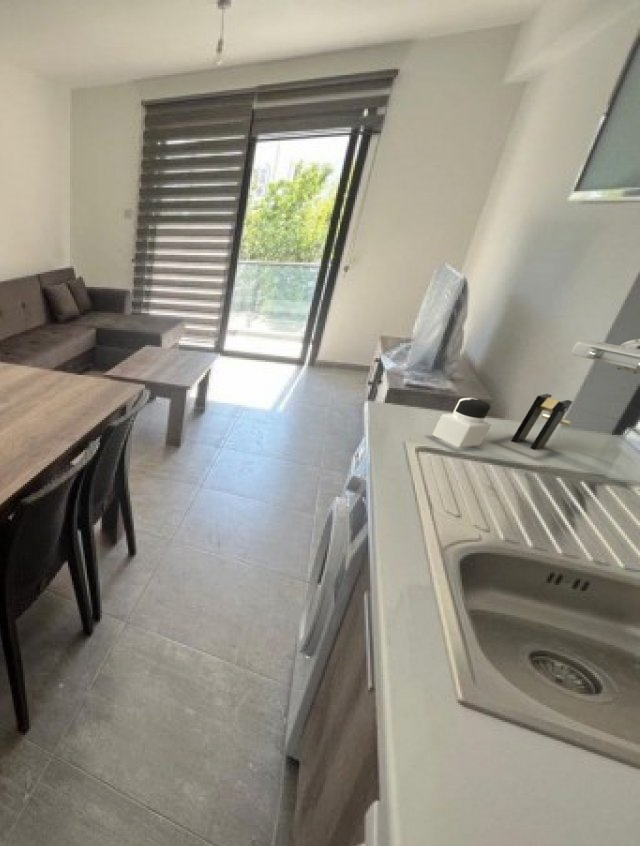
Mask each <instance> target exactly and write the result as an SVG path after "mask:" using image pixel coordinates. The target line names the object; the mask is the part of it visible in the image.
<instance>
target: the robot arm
mask: <svg viewBox="0 0 640 846" xmlns="http://www.w3.org/2000/svg"><path fill="white" fill-rule="evenodd" d="M570 354H571V355H573V356H575V357H580V358H585V359H588V360H592V361H593V360H594V361H597V362H600V363H601V362H602V363H605V364H610V365H612V366H613V368H615V369H616V370H617V371H620V372H621V373H625V374H630V375H637V374H638V375H640V338H636V339H631V340H628V341H625V342H623V343H622V344H620V345H616V344H612V343H606V342H601V341H594V340H579V341H577V342H576V343H575V344H574V346H573V347H572V350H571V351H570Z"/></svg>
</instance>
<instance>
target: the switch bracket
mask: <svg viewBox="0 0 640 846" xmlns="http://www.w3.org/2000/svg"><path fill="white" fill-rule="evenodd" d="M552 396H553V395H552V394H549V393H544V394H539V395H537V396H536V398H535V399H534V400H533V403H532V404H531V406H530V408H529V409H528V411H527V413H526V415H525V416H524V417H523V420H522V422H521V423H520V425H519V426H518V428H517V430H516V432H515V433H514V435H513V436H512V438H511V440H510V442H512V443H515V444H516V443H520V442H524V441H526V439H527V437H528V435H529V434H530V432H531V430H532V428H533V427H534V425H535V424H536V422H537V421H538V419H539V417H540V416H541V414H542V412H543V411H544V410H543V409H542V407H541V405H542V404H543V403H544V402H545V400H546V399H547V398H552ZM572 404H573V400H570V399H566V400H561V401H560V402H558V404H557V405H556V407H555V409H554V410H553V412H552V413H551V415H550V417H549V418H548V420H547V419H546V421H545V423H544V425H543V426H542V428H541V429H540V431H539V433H538V434H537V436H536V438H535V439H534V441H533V442H532V444H531V446H530V449H531V450H533V451H536V450H539V449H543V448H545V446H546V445H547V443H548V442H549V440H550V438H551V437H552V435H553V434H554V432H555V430H556V429H557V427H558V426H559V422H560V421H561V419H562V418H564V416H565V415H566V414H567V412H568V411H569V409H570V406H571V405H572Z"/></svg>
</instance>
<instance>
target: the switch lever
mask: <svg viewBox="0 0 640 846" xmlns="http://www.w3.org/2000/svg"><path fill="white" fill-rule="evenodd" d="M558 402H561V401H560V400H558V399H554V398H552V397H550V398H547V399H546V400H545V402H544V403H543V404H542V405H541V407H542V409H543V411H544V413H543V414H542V415H541V419H543V420H546V421H547V420H548V418H549V417H550V415H551V413H552V412H553V410H554V409H555V407H556V405H557V404H558ZM559 424H560V425H561V426H565V427H571V426H572V425H573V420H569V419H566V418H564V417H563V418H562V419H561V421H560V422H559ZM559 424H558V425H559Z"/></svg>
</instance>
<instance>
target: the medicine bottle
mask: <svg viewBox="0 0 640 846" xmlns="http://www.w3.org/2000/svg"><path fill="white" fill-rule="evenodd" d="M490 409H491V405H490V404H489V403H487V402H486V401H484V400H481V399H478V398H474V397H463V398H460V399H459V400H458V402H457V404H456V405H455V407H454V410H453V412H452V413H443V414H441V415H440V418H439V420H438V422H437V424H436V427H435V428H434V430H433V432H432V436H433V437H436V438H438V439H440V440H442V441H444V442H446V443H449V444H451V445H453V446H455V447H457V448H469V447H478V446H481V444H482V442H483V440H484V439H485V437H486V435H487V433H488V431H489V430H490V428H491V425H492V424H491V423H489V422H486V421H484V420H485V419H486V417H487V415H488V413H489V411H490Z"/></svg>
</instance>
